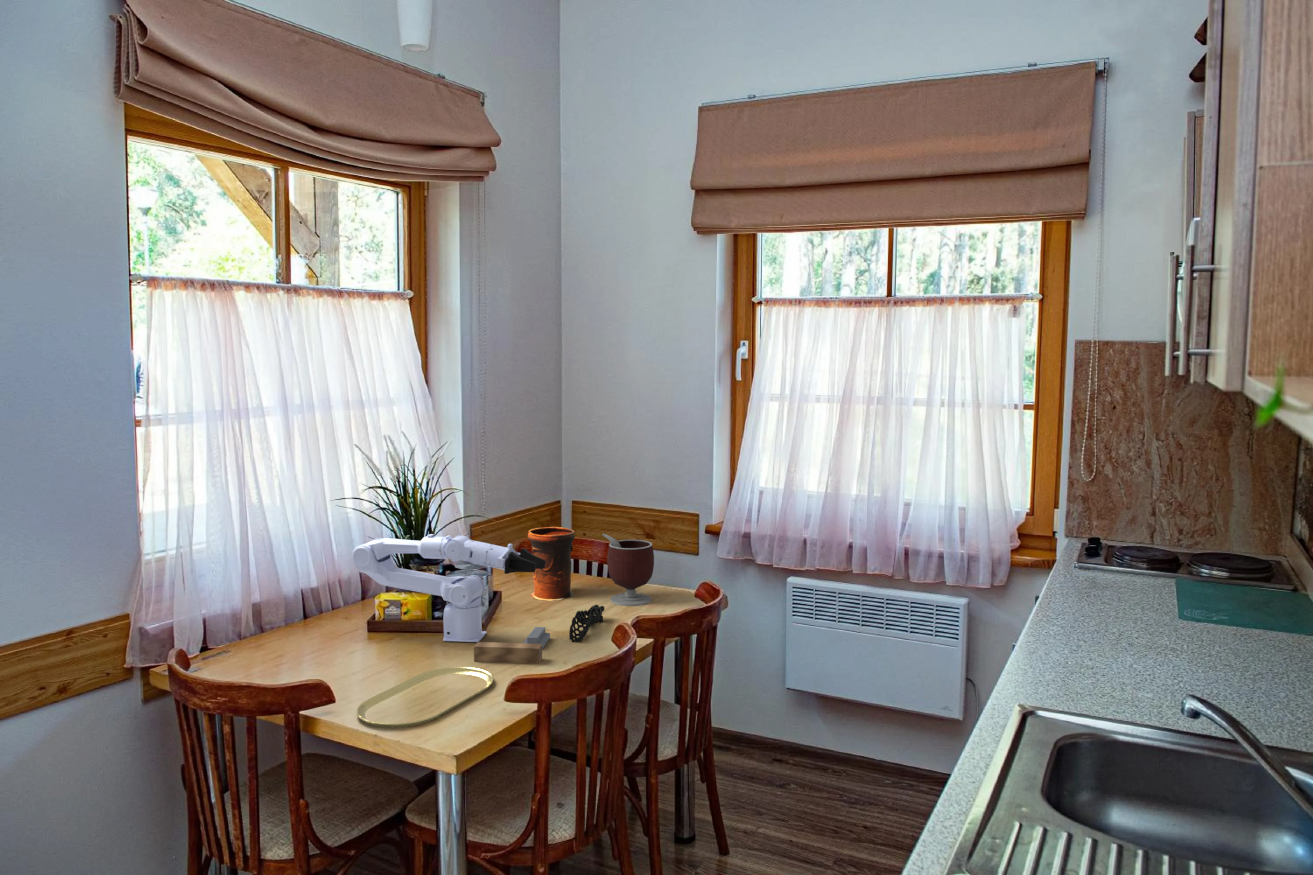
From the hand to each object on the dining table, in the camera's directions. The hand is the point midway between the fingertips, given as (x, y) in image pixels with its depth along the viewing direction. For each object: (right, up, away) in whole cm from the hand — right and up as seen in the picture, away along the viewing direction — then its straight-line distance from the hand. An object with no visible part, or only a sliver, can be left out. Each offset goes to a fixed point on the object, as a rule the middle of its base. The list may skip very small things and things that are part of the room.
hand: (540, 566), depth 243 cm
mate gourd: (+21, -16, +42) cm, 50 cm away
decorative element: (+11, -19, +13) cm, 26 cm away
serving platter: (-20, -25, -35) cm, 48 cm away
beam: (-6, -22, -11) cm, 25 cm away
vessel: (-2, -15, +49) cm, 51 cm away
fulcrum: (-1, -20, +2) cm, 20 cm away
